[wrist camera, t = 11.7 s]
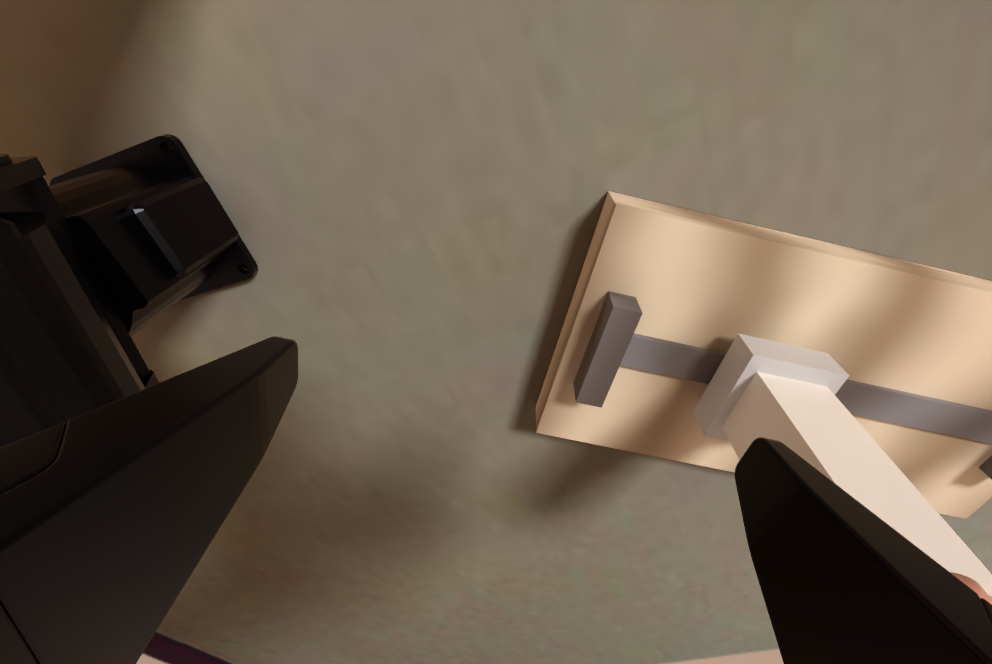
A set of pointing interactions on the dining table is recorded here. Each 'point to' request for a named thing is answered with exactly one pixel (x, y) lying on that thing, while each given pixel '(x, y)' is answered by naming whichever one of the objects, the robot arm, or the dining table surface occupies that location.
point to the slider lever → (825, 441)
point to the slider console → (776, 317)
